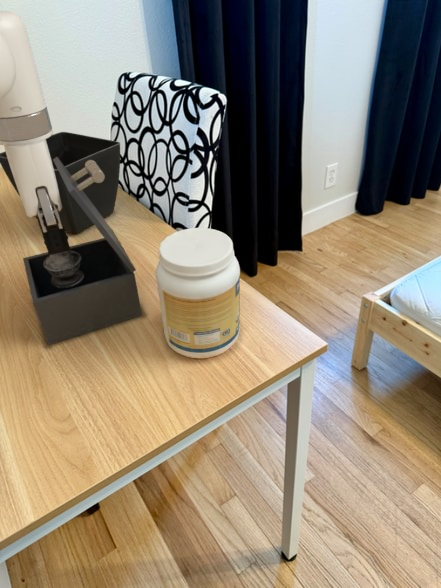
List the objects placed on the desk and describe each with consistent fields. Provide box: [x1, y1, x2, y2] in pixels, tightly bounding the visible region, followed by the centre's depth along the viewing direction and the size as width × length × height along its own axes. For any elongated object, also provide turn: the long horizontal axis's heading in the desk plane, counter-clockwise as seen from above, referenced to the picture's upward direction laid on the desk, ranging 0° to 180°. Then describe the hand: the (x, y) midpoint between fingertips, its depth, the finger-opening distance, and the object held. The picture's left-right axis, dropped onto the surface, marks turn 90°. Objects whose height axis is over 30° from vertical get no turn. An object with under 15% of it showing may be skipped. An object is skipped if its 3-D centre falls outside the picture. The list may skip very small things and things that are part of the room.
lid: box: [53, 157, 137, 273], centre depth 67 cm, size 16×14×5 cm
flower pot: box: [0, 131, 121, 235], centre depth 98 cm, size 19×19×17 cm
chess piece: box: [43, 234, 84, 288], centre depth 68 cm, size 6×6×12 cm
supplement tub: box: [155, 227, 241, 359], centre depth 65 cm, size 12×12×17 cm
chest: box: [22, 237, 143, 346], centre depth 73 cm, size 16×14×9 cm
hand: (56, 244), depth 67 cm, fingers closed on chess piece, 3 cm apart
